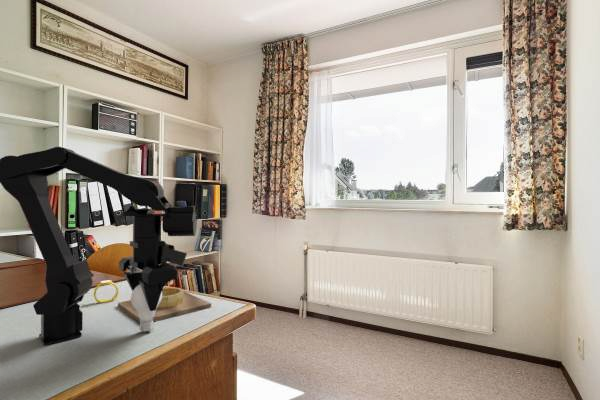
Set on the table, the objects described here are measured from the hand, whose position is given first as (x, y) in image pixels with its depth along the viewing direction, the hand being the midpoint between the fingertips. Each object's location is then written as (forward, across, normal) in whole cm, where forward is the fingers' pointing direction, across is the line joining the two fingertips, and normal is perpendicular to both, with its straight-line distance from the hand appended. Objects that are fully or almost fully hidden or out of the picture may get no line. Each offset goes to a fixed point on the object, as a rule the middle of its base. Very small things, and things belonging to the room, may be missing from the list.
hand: (146, 306), depth 73 cm
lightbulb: (+6, 0, 0) cm, 6 cm away
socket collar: (+6, +14, -10) cm, 18 cm away
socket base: (+6, +14, -10) cm, 18 cm away
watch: (+6, +30, 0) cm, 31 cm away
